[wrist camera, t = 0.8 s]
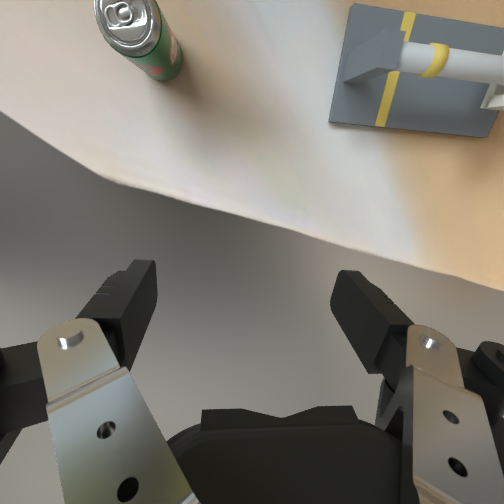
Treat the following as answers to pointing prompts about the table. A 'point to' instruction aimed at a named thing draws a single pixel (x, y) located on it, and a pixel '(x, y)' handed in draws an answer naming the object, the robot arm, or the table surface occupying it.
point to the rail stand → (417, 72)
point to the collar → (494, 97)
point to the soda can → (140, 35)
